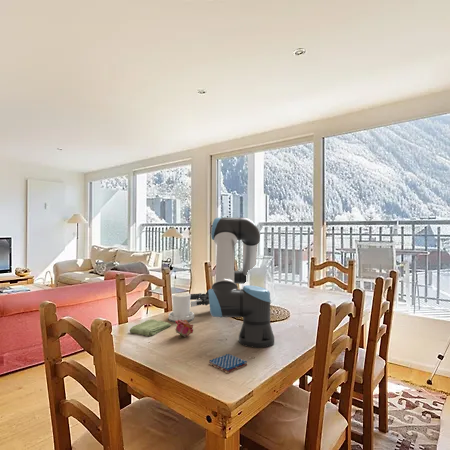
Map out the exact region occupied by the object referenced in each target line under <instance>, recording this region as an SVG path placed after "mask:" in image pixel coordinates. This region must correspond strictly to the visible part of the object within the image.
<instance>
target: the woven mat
mask: <svg viewBox="0 0 450 450" xmlns="http://www.w3.org/2000/svg"><path fill="white" fill-rule="evenodd" d="M208 364H210V365H209V366H211V367H212V365H213V366H214V367H213V368H215V367H216V369H218V368H219V370H220V369H221V370H222V372H223V373H224V371H225V373H226V374H228V373H231V372H233V371H235V370H238V369H240V368H243V367H245V366H247V365H248V361H246V360H245V359H242V358H240V357H237V356H235V355H234V354H230V353H228V354H227V353H226V354H225V355H224V354H223V355H220V356H219V357H216V358H212V359H209V361H208ZM221 370H220V371H221Z"/></svg>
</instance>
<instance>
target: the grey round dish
mask: <svg viewBox="0 0 450 450" xmlns="http://www.w3.org/2000/svg"><path fill="white" fill-rule="evenodd" d="M194 319H195V313H194V312H193V311H191V310H190V313H189V316H187V317H173V311H170V312H169V313H168V321H169V322H171V323H176V322H175V321H178V320H180V321H181V320H182V321H183V320H187V321H188V323H190V322H191V321H194Z"/></svg>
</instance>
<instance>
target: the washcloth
mask: <svg viewBox="0 0 450 450" xmlns="http://www.w3.org/2000/svg"><path fill="white" fill-rule="evenodd" d="M171 326H172V324H171V323H169V322H167V321H163V320H157V319H154V318H153V319H147V320H145V321H143V322H141V323H138V324H136V325H134V326H132V327H130V328H129V332H130V333H131V334H135V335H143V336H145V337H146V336H147V337H152V336H154V335H157V334H158V333H160V332H162V331H163V330H166V329H168V328H170V327H171Z"/></svg>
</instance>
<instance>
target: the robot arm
mask: <svg viewBox="0 0 450 450" xmlns="http://www.w3.org/2000/svg"><path fill="white" fill-rule="evenodd" d="M259 230H260V229H259V227H258V226H257V224H255V223H254V221H252V220H251V219H249V218H247V217H223V216H220V217H216V218H214V219H213V221H212V225H211V240H213V241H214V244H215V245H216V256H215V257H216V260H215V280H214V281H215V282H214V283H212V285H211V288H209V289H208V290H207V291H206V292H205V293H202V292H199V293H190V294H191V297H190V308H192V307H197V306H198V307H199V306H201V305H202V306H208V305H209V313H210V315H211V316H212V317H213V318H214V317H216V318H242V325H241V328H240V331H239V334H238V342H239V344H241V345H243V346H245V347H248V348H257V349H258V348H268V347H271V346H273V345H274V344H275V335H274V332H273V329H272V325H271V302H272V301H271V292H270V290H269V289H267V288H265V287H263V286H262V287H261V286H257V285H252V284H249V285H248V284H245V285H243V287H242V289H241V288H239V287H238V284H244V283H245V282H246V275H247V272H248V270H250V269H252V268H253V267H254V266H255V265H256V266H257V257H258V245H259V244H260V241H261V235H260V231H259ZM238 241H241V242H242V243H243V245H242V246H243V247H242V249H243V250H242V270H235V245H236V244H237V243H238Z"/></svg>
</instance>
